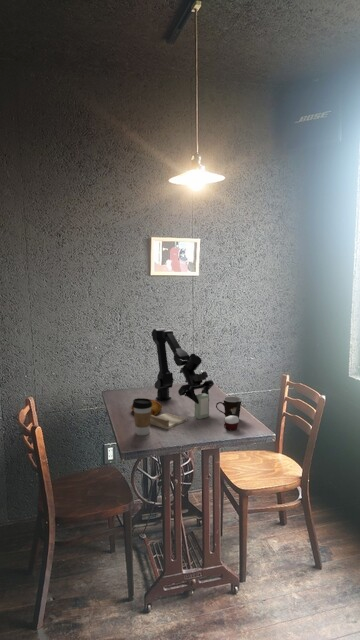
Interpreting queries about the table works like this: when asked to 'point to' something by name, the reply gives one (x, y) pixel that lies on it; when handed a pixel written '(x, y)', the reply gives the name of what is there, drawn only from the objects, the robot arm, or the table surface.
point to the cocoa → (232, 420)
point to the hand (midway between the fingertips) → (203, 402)
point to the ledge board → (166, 420)
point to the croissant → (153, 407)
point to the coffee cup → (142, 415)
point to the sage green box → (202, 406)
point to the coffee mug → (230, 406)
